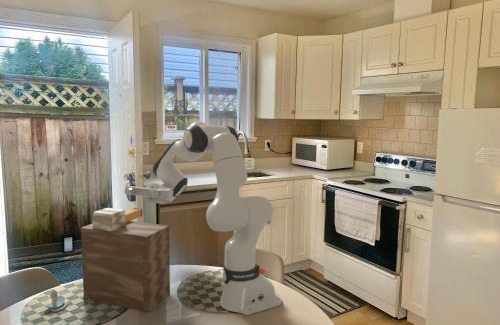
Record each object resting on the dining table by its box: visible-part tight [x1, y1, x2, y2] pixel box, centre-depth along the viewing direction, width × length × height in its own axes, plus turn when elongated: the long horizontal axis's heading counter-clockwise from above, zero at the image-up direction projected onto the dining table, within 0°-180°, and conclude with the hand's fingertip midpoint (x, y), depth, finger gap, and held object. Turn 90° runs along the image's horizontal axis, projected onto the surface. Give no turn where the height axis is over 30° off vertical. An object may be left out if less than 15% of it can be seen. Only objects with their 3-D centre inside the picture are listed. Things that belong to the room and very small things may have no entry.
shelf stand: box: [80, 207, 171, 313], centre depth 141 cm, size 14×28×33 cm, turn 71°
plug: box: [125, 207, 143, 223], centre depth 147 cm, size 18×4×3 cm, turn 161°
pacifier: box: [44, 290, 68, 312], centre depth 134 cm, size 7×6×6 cm
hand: (140, 191), depth 158 cm, fingers open, 8 cm apart
